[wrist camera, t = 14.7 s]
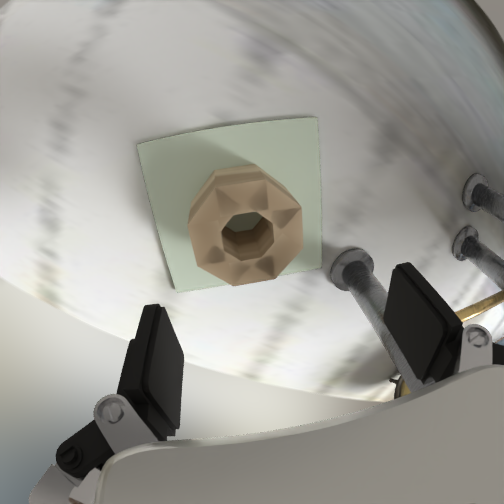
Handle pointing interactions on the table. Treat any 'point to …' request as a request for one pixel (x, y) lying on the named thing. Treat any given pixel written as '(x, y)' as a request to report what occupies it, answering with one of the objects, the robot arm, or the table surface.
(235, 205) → the pot
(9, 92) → the table surface
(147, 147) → the pad
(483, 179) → the rope barrier
